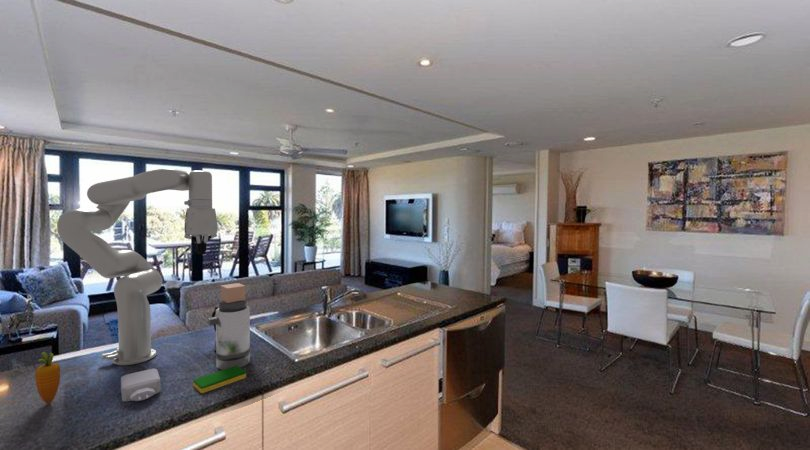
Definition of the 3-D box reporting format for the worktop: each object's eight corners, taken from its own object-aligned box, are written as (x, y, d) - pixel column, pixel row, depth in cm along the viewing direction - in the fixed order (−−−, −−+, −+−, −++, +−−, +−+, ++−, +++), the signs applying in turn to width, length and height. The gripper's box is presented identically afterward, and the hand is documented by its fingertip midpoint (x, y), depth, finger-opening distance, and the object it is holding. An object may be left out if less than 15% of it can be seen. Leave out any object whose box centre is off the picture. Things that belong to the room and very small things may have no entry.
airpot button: (227, 303, 122) (227, 288, 122) (220, 299, 127) (220, 285, 126) (245, 300, 127) (245, 285, 127) (238, 296, 131) (238, 283, 131)
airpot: (215, 375, 118) (214, 296, 117) (204, 364, 126) (203, 290, 125) (255, 363, 128) (255, 289, 127) (242, 353, 136) (242, 284, 134)
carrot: (62, 403, 100) (60, 352, 99) (36, 411, 96) (34, 357, 96) (60, 397, 103) (58, 347, 103) (35, 404, 100) (34, 352, 99)
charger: (122, 413, 97) (120, 390, 108) (163, 401, 103) (157, 381, 114) (122, 396, 96) (120, 375, 108) (163, 385, 102) (157, 367, 114)
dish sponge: (246, 378, 117) (246, 371, 117) (201, 395, 107) (201, 387, 107) (237, 371, 122) (237, 365, 122) (192, 386, 112) (192, 379, 111)
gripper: (180, 204, 122) (181, 256, 123) (225, 204, 133) (226, 253, 134) (174, 204, 127) (175, 254, 128) (218, 204, 138) (219, 251, 139)
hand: (201, 253), depth 131 cm, fingers closed
